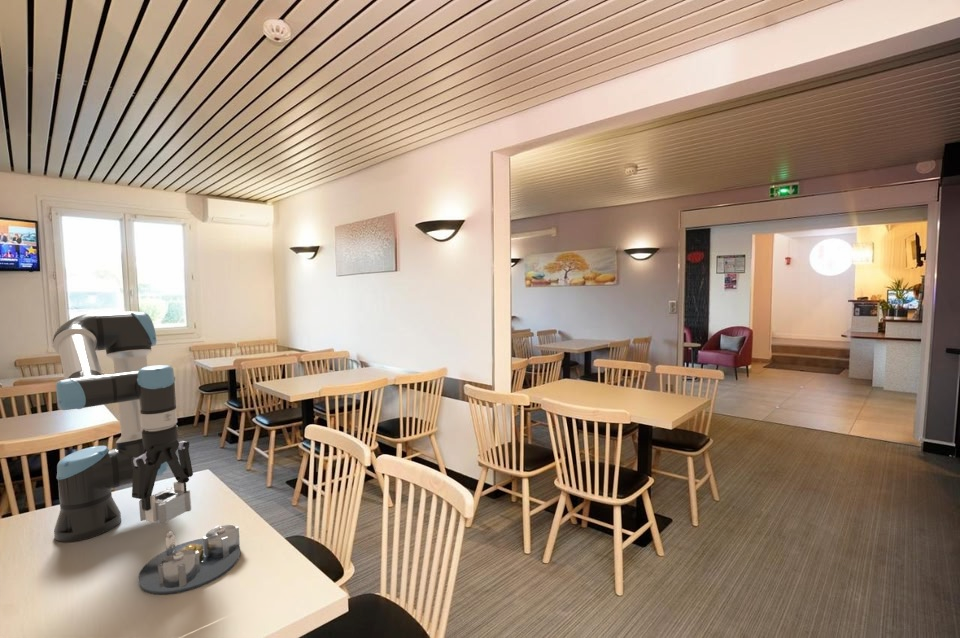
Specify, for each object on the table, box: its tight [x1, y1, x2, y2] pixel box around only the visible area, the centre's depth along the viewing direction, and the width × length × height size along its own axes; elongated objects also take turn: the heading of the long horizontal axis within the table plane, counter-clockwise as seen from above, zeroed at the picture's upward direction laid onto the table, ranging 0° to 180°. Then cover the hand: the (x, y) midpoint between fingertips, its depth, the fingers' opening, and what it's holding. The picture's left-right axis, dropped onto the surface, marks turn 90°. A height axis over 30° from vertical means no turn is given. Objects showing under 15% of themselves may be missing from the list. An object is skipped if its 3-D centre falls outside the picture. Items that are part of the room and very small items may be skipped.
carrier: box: [138, 524, 241, 596], centre depth 117 cm, size 22×22×8 cm
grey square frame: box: [138, 487, 192, 526], centre depth 118 cm, size 9×9×5 cm
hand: (166, 513), depth 118 cm, fingers closed on grey square frame, 7 cm apart
